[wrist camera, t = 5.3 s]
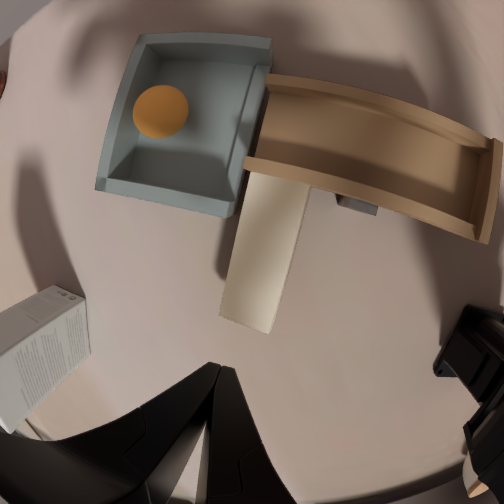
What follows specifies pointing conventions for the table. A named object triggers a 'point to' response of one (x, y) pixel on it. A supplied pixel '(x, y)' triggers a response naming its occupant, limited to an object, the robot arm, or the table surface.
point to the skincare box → (39, 350)
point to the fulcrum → (358, 205)
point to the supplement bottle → (2, 82)
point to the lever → (350, 178)
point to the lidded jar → (472, 479)
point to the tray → (188, 120)
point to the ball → (160, 111)
